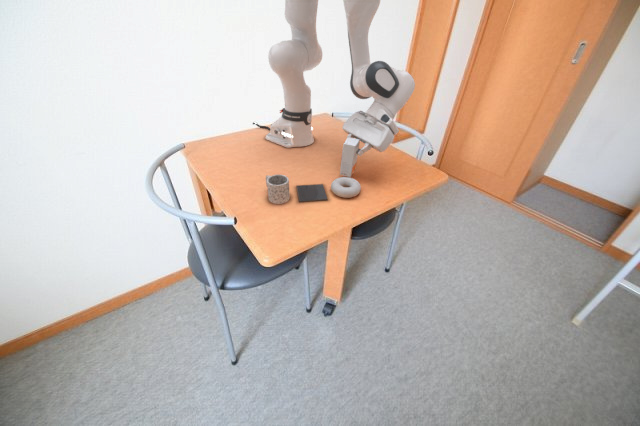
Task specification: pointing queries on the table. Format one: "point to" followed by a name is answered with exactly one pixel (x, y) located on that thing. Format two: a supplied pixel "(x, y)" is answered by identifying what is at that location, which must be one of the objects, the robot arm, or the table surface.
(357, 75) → the robot arm
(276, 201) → the mug
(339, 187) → the donut
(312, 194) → the slate coaster
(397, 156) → the table surface
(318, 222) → the table surface
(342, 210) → the table surface
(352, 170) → the cosmetic box
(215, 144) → the table surface
